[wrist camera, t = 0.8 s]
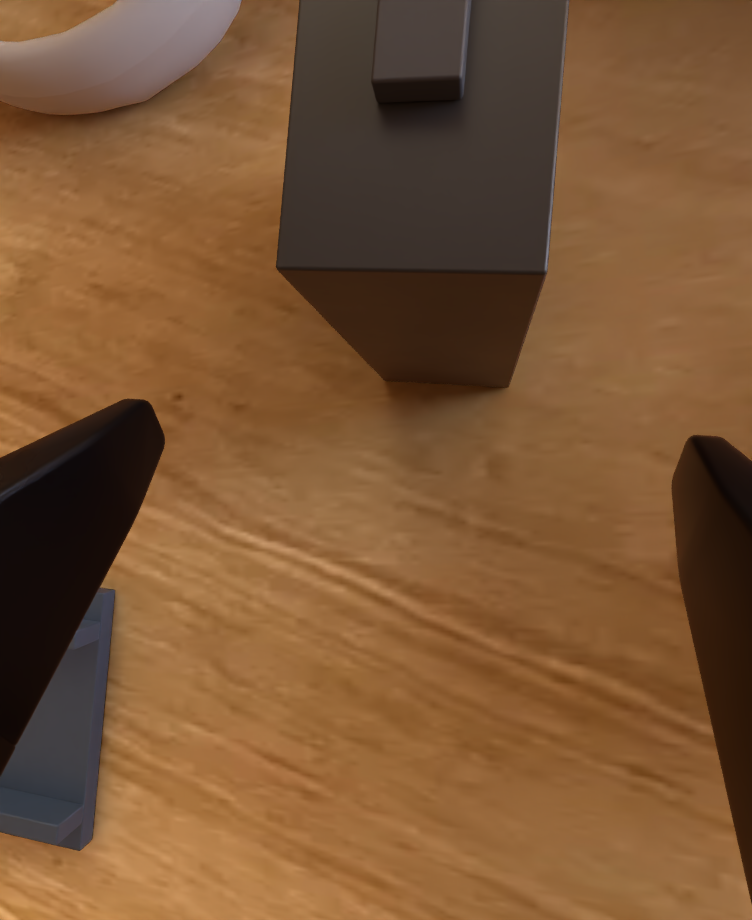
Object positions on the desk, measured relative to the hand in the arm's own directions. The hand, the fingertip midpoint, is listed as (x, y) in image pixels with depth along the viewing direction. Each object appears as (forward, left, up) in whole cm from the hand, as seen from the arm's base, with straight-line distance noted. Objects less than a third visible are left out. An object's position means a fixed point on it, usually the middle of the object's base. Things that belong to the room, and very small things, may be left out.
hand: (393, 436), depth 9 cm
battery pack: (+6, -4, -13) cm, 15 cm away
